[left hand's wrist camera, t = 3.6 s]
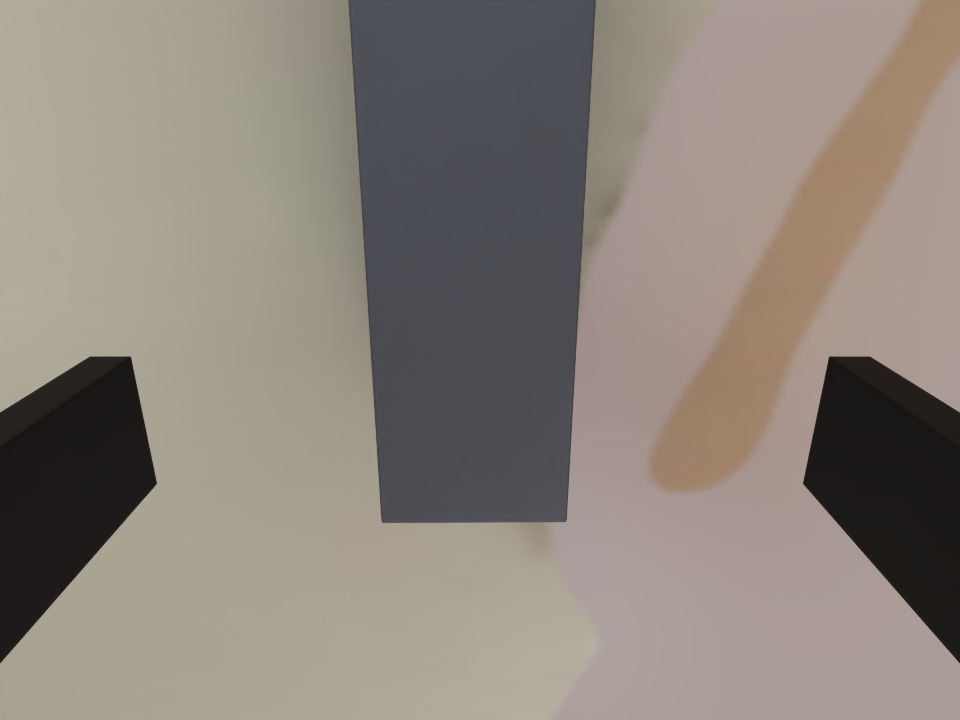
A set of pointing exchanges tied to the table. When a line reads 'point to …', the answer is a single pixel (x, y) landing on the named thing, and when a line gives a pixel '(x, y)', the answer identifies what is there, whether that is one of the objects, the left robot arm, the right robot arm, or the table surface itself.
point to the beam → (473, 248)
